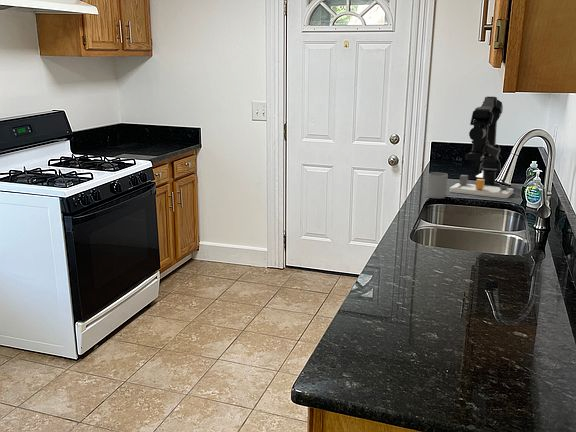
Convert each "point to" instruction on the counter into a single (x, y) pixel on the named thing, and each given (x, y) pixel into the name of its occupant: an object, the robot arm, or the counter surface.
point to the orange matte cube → (480, 183)
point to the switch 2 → (503, 187)
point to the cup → (437, 185)
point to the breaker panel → (481, 190)
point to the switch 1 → (463, 179)
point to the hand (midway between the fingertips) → (477, 174)
